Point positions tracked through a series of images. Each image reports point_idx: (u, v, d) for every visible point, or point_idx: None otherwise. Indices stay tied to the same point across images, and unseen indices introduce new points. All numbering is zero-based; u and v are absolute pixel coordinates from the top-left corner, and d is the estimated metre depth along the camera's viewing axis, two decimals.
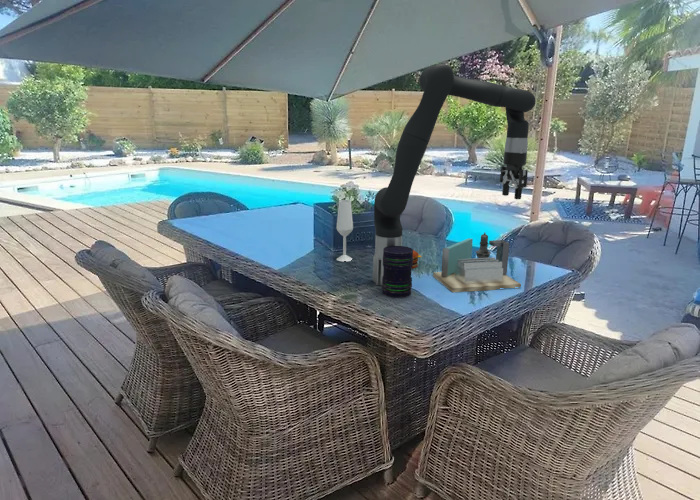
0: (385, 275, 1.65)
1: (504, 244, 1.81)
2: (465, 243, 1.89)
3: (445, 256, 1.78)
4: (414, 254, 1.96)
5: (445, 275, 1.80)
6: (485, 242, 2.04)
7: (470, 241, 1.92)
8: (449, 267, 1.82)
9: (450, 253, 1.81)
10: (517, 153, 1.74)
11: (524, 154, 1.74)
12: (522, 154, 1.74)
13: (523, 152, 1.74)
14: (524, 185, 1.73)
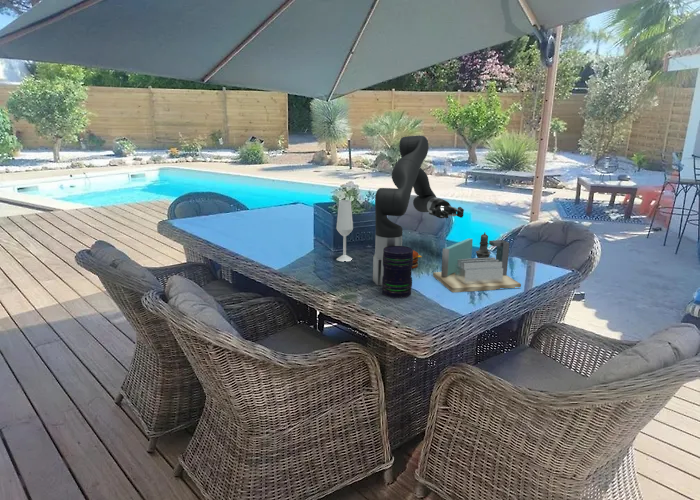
0: (385, 275, 1.65)
1: (504, 244, 1.81)
2: (465, 243, 1.89)
3: (445, 256, 1.78)
4: (414, 254, 1.96)
5: (445, 275, 1.80)
6: (485, 242, 2.04)
7: (470, 241, 1.92)
8: (449, 267, 1.82)
9: (450, 253, 1.81)
10: None
11: None
12: None
13: None
14: None
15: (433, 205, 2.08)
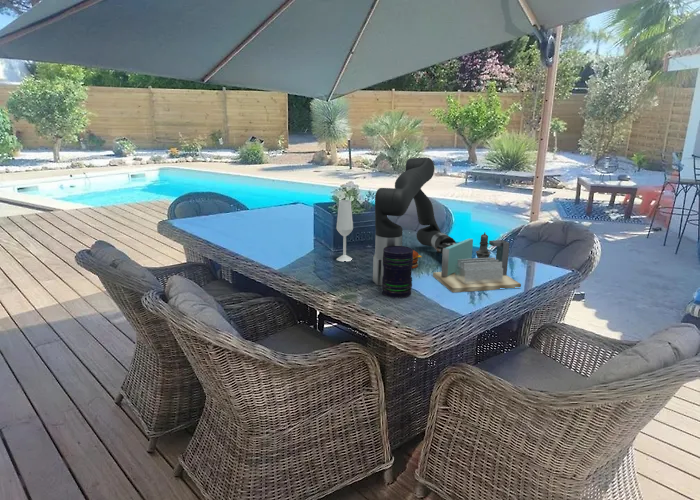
0: (385, 275, 1.65)
1: (504, 244, 1.81)
2: (465, 243, 1.89)
3: (445, 256, 1.78)
4: (414, 254, 1.96)
5: (445, 275, 1.80)
6: (485, 242, 2.04)
7: (470, 241, 1.92)
8: (449, 267, 1.82)
9: (451, 253, 1.81)
10: None
11: None
12: None
13: None
14: None
15: (438, 242, 2.05)
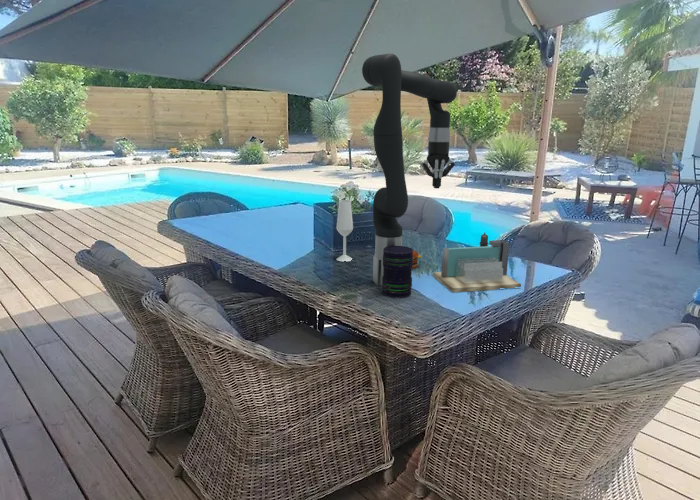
0: (385, 275, 1.65)
1: (504, 244, 1.81)
2: (483, 249, 1.81)
3: (443, 255, 1.79)
4: (414, 254, 1.96)
5: (443, 275, 1.80)
6: (485, 242, 2.04)
7: (494, 248, 1.82)
8: (450, 268, 1.80)
9: (453, 254, 1.79)
10: None
11: None
12: None
13: None
14: None
15: (431, 148, 1.83)
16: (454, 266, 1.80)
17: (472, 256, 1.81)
